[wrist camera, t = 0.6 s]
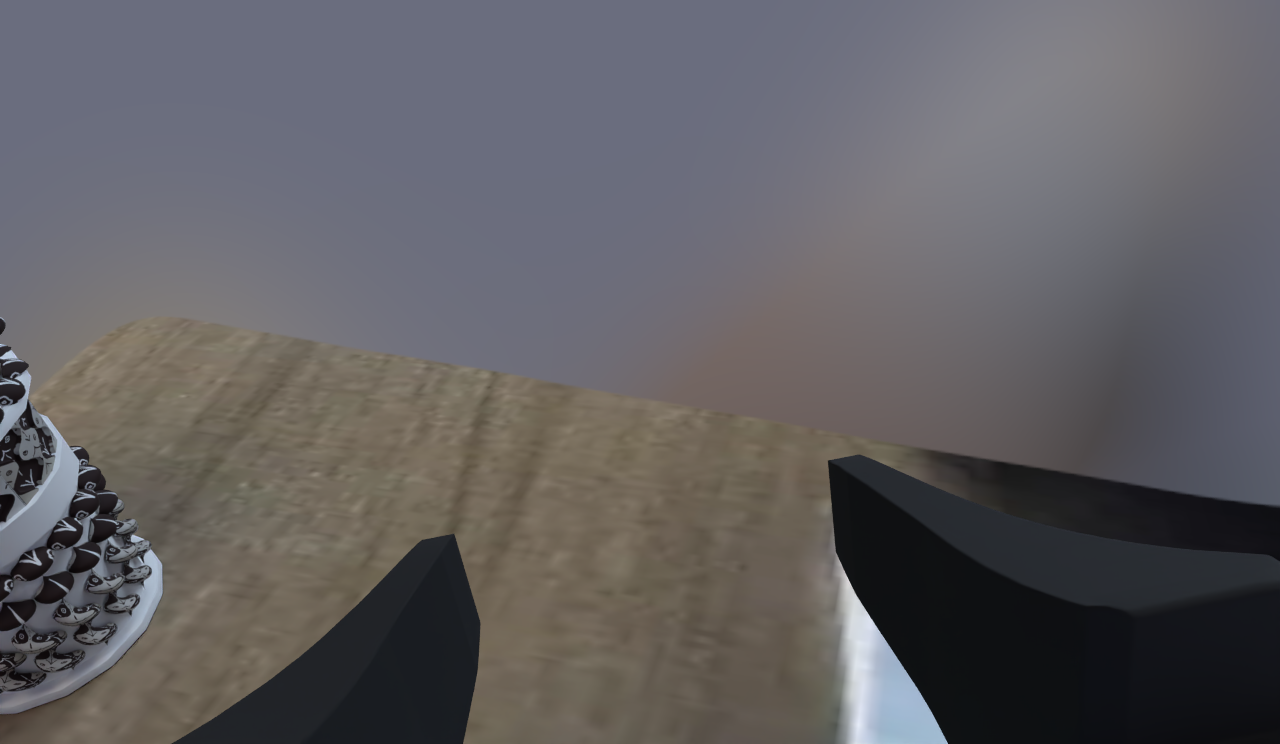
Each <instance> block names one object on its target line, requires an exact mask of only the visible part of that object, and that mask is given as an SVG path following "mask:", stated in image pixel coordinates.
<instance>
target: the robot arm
mask: <svg viewBox="0 0 1280 744" xmlns="http://www.w3.org/2000/svg"><path fill="white" fill-rule="evenodd" d="M828 467H829V478H830V490H831V501H832V513H833V524H834V536H835V547H836V553H837V555H838V557H839V560H840V562H841V564H842V566H843V568H844V571H845V573H846V575H847V577H848V579H849V581H850V583H851V585H852V587H853V589H854V591H855V593H856V595H857V597H858V598H859V600H860V602H861V603H862V605H863V606H864V608H865V609H866V611H867V612H868V614H869V616H870V617H871V619H872V620H873V622H874V623H875V625H876V626H877V628H878V629H879V631H880V632H881V634H882V635H883V637H884V638H885V640H886V641H887V643H888V644H889V646H890V647H891V649H892V650H893V652H894V654H895V655H896V657H897V658H898V660H899V661H900V663H901V664H902V666H903V667H904V669H905V670H906V672H907V673H908V675H909V676H910V678H911V679H912V681H913V682H914V684H915V685H916V687H917V688H918V690H919V692H920V693H921V695H922V697H923V698H924V700H925V702H926V703H927V705H928V707H929V708H930V710H931V712H932V714H933V715H934V717H935V719H936V721H937V723H938V725H939V727H940V729H941V731H942V733H943V735H944V737H945V739H946V740H947V742H948V744H1280V562H1279V561H1278V560H1276V559H1274V558H1273V557H1271V556H1269V555H1260V554H1245V553H1230V552H1215V551H1200V550H1187V549H1178V548H1170V547H1162V546H1154V545H1146V544H1138V543H1132V542H1126V541H1120V540H1113V539H1108V538H1102V537H1098V536H1093V535H1088V534H1083V533H1078V532H1073V531H1068V530H1064V529H1060V528H1055V527H1051V526H1047V525H1043V524H1040V523H1036V522H1033V521H1029V520H1026V519H1022V518H1019V517H1015V516H1012V515H1008V514H1005V513H1002V512H999V511H996V510H993V509H990V508H987V507H985V506H982V505H979V504H977V503H974V502H971V501H968V500H966V499H963V498H960V497H958V496H955V495H953V494H950V493H948V492H945V491H943V490H941V489H938V488H936V487H934V486H931V485H929V484H927V483H924V482H922V481H920V480H917V479H915V478H913V477H911V476H909V475H906V474H904V473H902V472H900V471H897V470H895V469H893V468H891V467H889V466H886V465H884V464H882V463H880V462H877V461H875V460H872V459H870V458H867V457H865V456H862V455H855V456H849V457H844V458H839V459H834V460H829V461H828ZM479 642H480V620H479V616H478V613H477V609H476V606H475V603H474V599H473V596H472V593H471V589H470V586H469V582H468V579H467V576H466V572H465V569H464V565H463V562H462V559H461V555H460V552H459V549H458V545H457V542H456V538H455V535H454V534H451V535H446V536H440V537H435V538H430V539H425V540H422V541H420V542H419V543H418V544H417V545H416V546H415V547H414V548H413V549H412V550H411V551H410V552H409V553H408V554H407V555H406V556H405V557H404V558H403V559H402V560H401V561H400V562H399V563H398V564H397V565H396V566H395V567H394V568H393V569H392V570H391V571H390V572H389V573H388V574H387V575H386V576H385V577H384V578H383V579H382V580H381V581H380V582H379V584H378V585H377V586H376V587H375V588H374V589H373V590H372V591H371V592H370V593H369V594H368V595H367V596H366V597H365V598H364V599H363V600H362V601H361V602H360V603H359V604H358V605H357V606H356V607H355V608H354V609H352V610H351V611H350V612H349V613H348V614H347V615H346V616H345V617H344V618H343V619H342V620H341V621H340V622H339V623H337V624H336V625H335V626H334V627H333V628H332V629H331V630H330V631H329V632H328V633H327V634H326V635H325V636H324V637H322V638H321V639H320V640H319V641H318V642H317V643H316V644H314V645H313V646H312V647H311V648H310V649H309V650H307V651H306V652H305V653H304V654H303V655H301V656H300V657H299V658H298V659H296V660H295V661H294V662H293V663H291V664H290V665H289V666H287V667H286V668H285V669H284V670H282V671H281V672H280V673H278V674H277V675H276V676H275V677H273V678H272V679H271V680H269V681H268V682H266V683H265V684H264V685H262V686H261V687H259V688H258V689H256V690H255V691H253V692H252V693H251V694H249V695H248V696H246V697H245V698H243V699H242V700H240V701H239V702H237V703H236V704H234V705H233V706H231V707H230V708H229V709H227V710H226V711H224V712H223V713H221V714H220V715H218V716H217V717H215V718H214V719H212V720H210V721H209V722H207V723H206V724H204V725H202V726H201V727H199V728H197V729H196V730H194V731H192V732H191V733H189V734H187V735H186V736H184V737H182V738H181V739H179V740H177V741H175V742H174V743H172V744H463V741H464V736H465V731H466V726H467V722H468V717H469V712H470V707H471V702H472V697H473V692H474V687H475V682H476V676H477V670H478V657H479Z"/></svg>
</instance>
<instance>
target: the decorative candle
mask: <svg viewBox="0 0 1280 744" xmlns="http://www.w3.org/2000/svg"><path fill="white" fill-rule="evenodd" d="M4 329H5V321H4V320H3V319H2V318H1V317H0V335H1V334H2V332H3V331H4ZM28 367H29V365H28V364H27V363H26V362H25V361H23V360H20V359H18V358H17V357H16V355H15V354H14V353H13V351H12V350H11V347H8V346H7V345H3V344H0V714H17V713H19V712H22V711H25V710H28V709H31V708H34V707H36V706H39V705H42V704H45V703H48V702H50V701H53V700H56V699H59V698H62V697H65V696H67V695H69V694H70V693H72V692H74V691H75V690H77V689H78V688H80V687H81V686H83V685H84V684H86V683H87V682H89V681H90V680H92V679H93V678H95V677H96V676H98V675H99V674H101V673H102V672H104V671H105V670H107V669H108V668H110V667H111V666H113V665H114V664H115V663H116V662H117V661H118V660H119V659H120V657H121V656H122V655H123V654H124V653H125V652H126V651H127V650H128V649H129V648H130V647H131V646H132V644H133V643H134V642H135V641H136V640H137V639H138V638H139V637H140V636H141V635H142V634H143V632H144V631H145V630H146V629H147V627H148V625H149V622H150V620H151V618H152V616H153V614H154V612H155V610H156V607H157V605H158V603H159V601H160V599H161V597H162V595H163V586H162V563H161V562H160V561H159V559H158V558H157V556H156V555H155V554H154V552H153V551H152V550H151V546H152V544H151V542H150V541H147V540H144V539H142V538H140V537H137V536H134V535H132V534H134V533H135V532H136V531H137V530H138V523H137V521H136V520H134V519H126V520H124V521H117V515H118V513H120V512H121V511H122V510H123V509H124V503H123V502H122V501H121V500H119V499H118V497H117V494H115V493H114V492H112V491H109V490H103V489H104V488H105V485H106V481H105V478H104V476H103V475H102V474H101V471H100V469H99V468H97V467H95V466H92V465H87V464H88V462H89V455H88V453H87V451H86V450H85V449H84V448H82V447H80V446H70V447H69V446H68V444H67V443H66V442H65V440H64V439H63V437H62V436H61V435H60V433H59V432H58V431H57V429H56V428H55V426H54V425H53V424H52V422H51V421H50V420H49V418H48V417H47V416H45V415H42V414H39V413H38V412H37V411H36V409H35V408H34V406H33V405H32V404H31V402H30V401H29V399H28V394H29V388H30V381H31V376H30V374H29V373H28V371H27V370H26V369H27V368H28Z"/></svg>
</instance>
